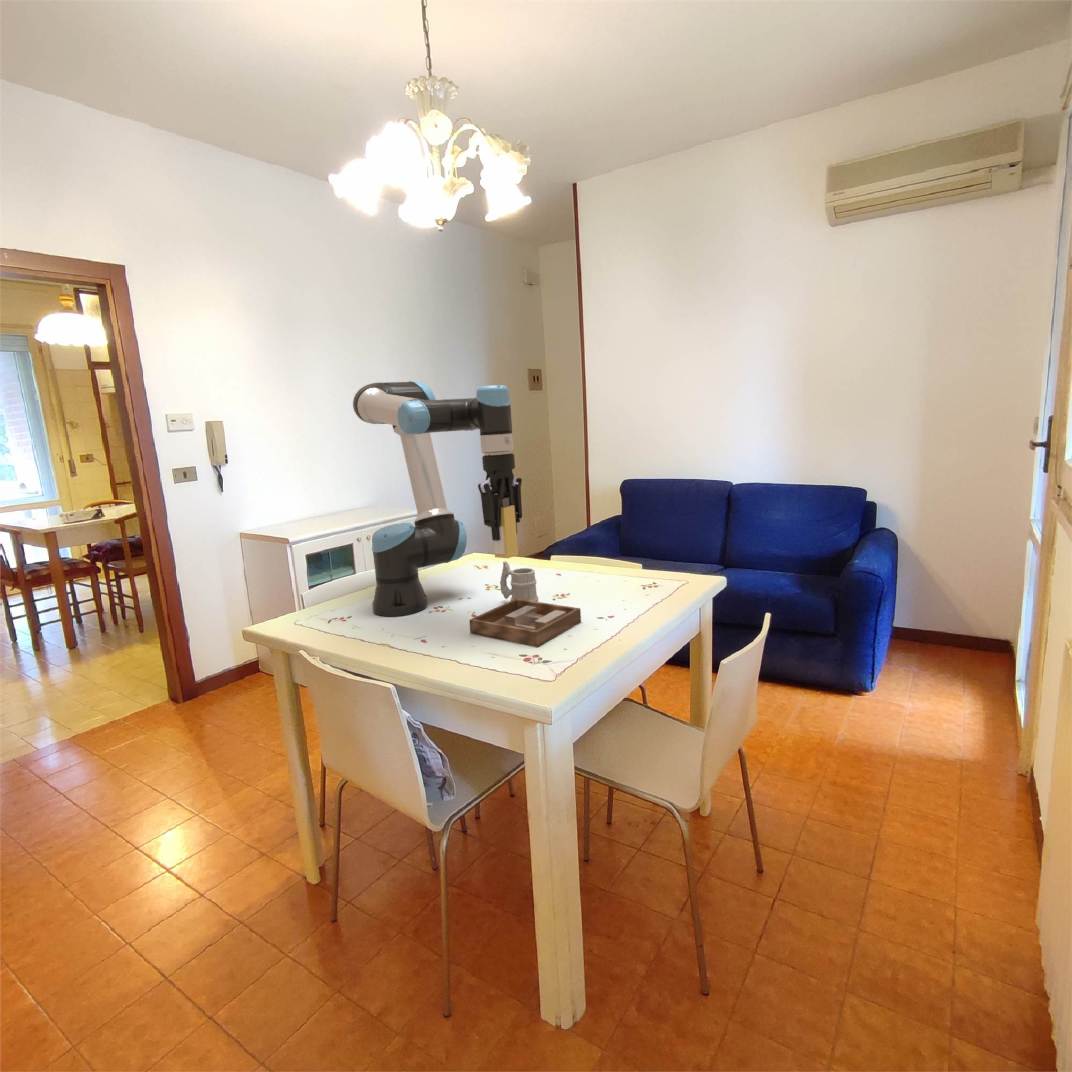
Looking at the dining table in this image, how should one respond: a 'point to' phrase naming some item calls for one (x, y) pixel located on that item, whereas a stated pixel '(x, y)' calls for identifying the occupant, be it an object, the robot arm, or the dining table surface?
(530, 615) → the inlet
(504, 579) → the mug
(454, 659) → the dining table surface
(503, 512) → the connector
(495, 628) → the box
